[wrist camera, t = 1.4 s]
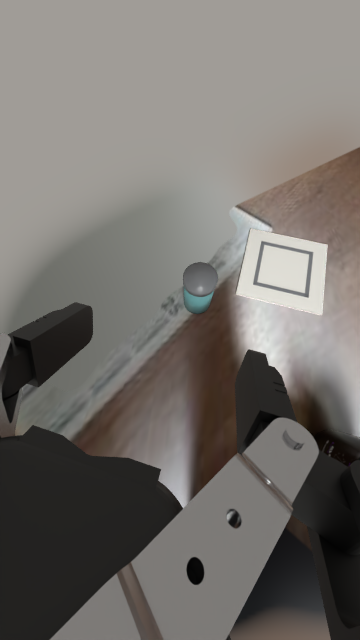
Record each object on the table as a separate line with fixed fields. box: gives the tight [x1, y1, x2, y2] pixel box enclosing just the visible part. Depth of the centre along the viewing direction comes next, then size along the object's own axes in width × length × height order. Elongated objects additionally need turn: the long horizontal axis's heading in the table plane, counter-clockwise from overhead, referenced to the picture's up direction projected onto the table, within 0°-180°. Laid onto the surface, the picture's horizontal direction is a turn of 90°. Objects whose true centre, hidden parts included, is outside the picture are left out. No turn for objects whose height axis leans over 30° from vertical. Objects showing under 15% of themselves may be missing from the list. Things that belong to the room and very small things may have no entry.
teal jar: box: [183, 262, 218, 314], centre depth 31 cm, size 5×5×8 cm
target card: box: [236, 229, 328, 315], centre depth 37 cm, size 14×14×1 cm
